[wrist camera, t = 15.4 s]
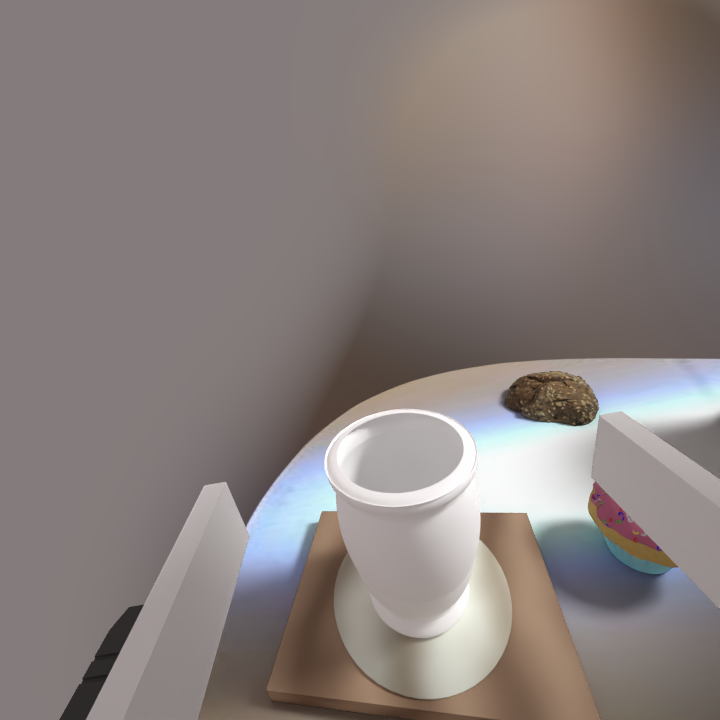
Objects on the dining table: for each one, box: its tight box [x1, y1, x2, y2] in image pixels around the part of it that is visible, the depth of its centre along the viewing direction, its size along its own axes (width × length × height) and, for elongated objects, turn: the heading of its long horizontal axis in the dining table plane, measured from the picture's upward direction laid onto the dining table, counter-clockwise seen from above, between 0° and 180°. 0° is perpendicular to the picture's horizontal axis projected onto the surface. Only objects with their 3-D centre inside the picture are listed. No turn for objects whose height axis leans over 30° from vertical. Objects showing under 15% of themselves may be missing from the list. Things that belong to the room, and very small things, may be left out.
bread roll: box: [505, 371, 599, 426], centre depth 53 cm, size 13×12×5 cm
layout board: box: [266, 511, 601, 720], centre depth 30 cm, size 22×16×2 cm
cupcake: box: [588, 428, 678, 574], centre depth 28 cm, size 9×8×12 cm
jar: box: [325, 409, 480, 638], centre depth 26 cm, size 11×10×15 cm
